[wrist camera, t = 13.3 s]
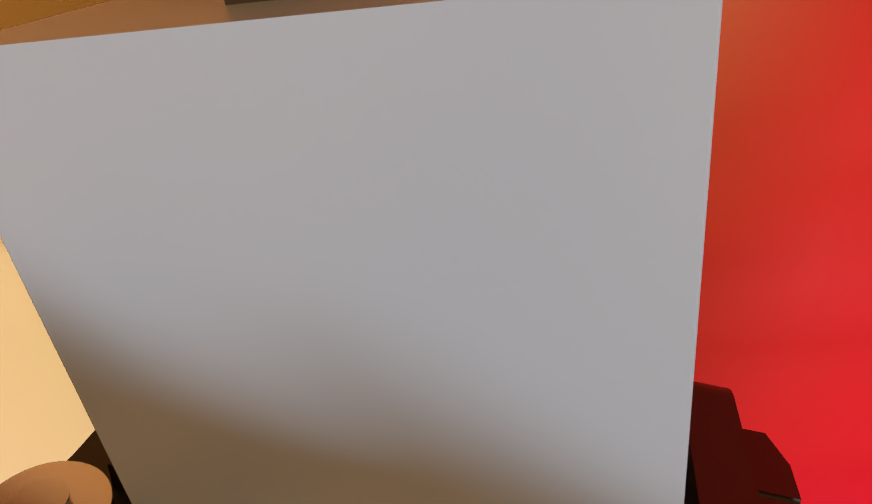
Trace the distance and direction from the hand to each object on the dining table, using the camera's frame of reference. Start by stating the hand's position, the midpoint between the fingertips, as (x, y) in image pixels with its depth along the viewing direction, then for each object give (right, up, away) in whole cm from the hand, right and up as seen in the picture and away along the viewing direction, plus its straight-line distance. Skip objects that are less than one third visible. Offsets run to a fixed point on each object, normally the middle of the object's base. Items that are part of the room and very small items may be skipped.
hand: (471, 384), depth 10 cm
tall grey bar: (0, +3, -1) cm, 3 cm away
